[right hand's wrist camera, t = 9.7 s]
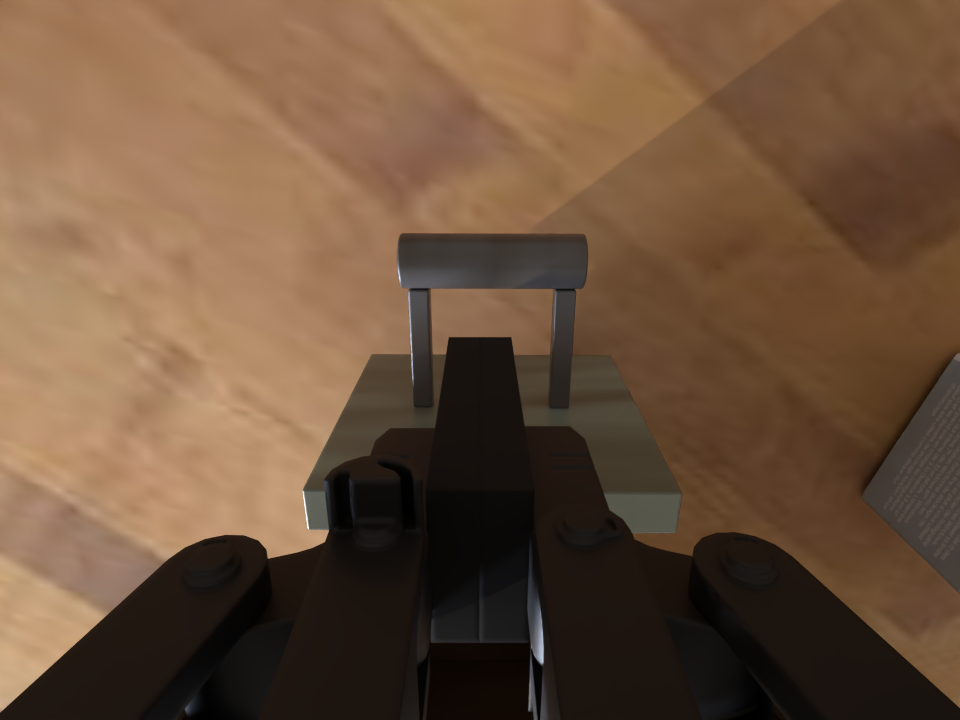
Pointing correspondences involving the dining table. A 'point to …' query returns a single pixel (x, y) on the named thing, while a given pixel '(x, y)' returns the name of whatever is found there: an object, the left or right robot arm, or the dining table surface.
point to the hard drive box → (926, 479)
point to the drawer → (545, 402)
